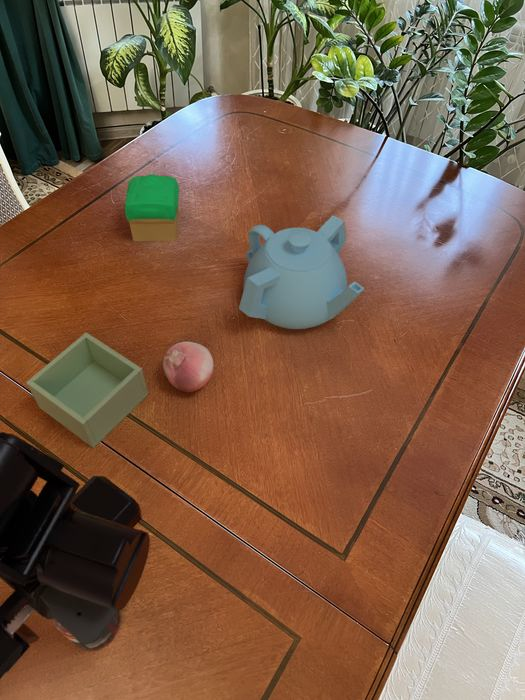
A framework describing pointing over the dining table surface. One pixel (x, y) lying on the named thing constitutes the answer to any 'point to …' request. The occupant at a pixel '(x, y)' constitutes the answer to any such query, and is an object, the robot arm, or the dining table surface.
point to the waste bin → (89, 388)
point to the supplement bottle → (100, 641)
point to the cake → (153, 208)
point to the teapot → (297, 276)
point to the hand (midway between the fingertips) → (70, 596)
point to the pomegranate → (188, 366)
